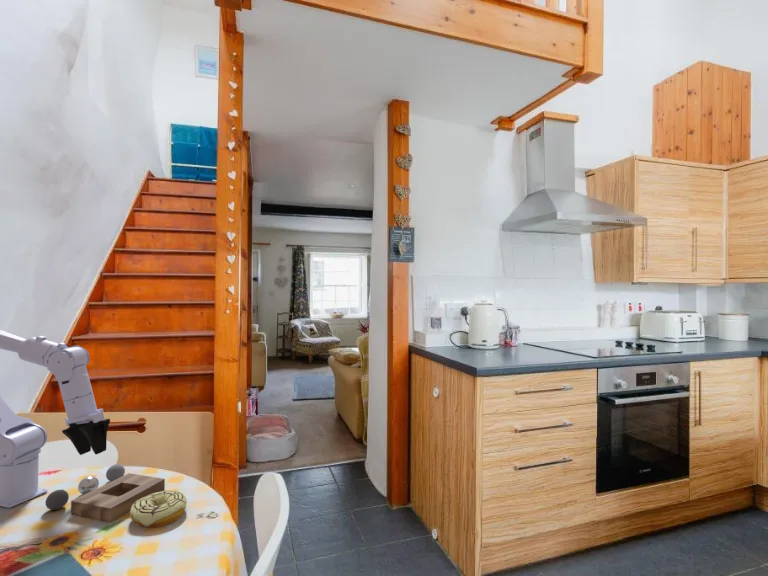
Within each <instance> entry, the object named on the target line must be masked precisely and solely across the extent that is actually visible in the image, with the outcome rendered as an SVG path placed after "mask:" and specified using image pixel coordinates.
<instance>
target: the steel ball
mask: <svg viewBox="0 0 768 576" xmlns="http://www.w3.org/2000/svg"><path fill="white" fill-rule="evenodd" d="M99 485H100V481H99V479H98V478H97V477H96V476H93V475H90V476H85V477H84V478H82V479H81V480H80V482H79V483H78V484H77V490H78V492H79V494H81V495H85V494H87V493H89V492H91V491H93V490H95V489H97V488H99Z"/></svg>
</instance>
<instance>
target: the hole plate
mask: <svg viewBox="0 0 768 576" xmlns="http://www.w3.org/2000/svg"><path fill="white" fill-rule="evenodd" d="M165 480H166V478H163V477H162V478H161V477H155V476H149V475H142V474H138V473H130V472H128V473H126V474H124V476H122V477H120V478H118V479H116V480H114V481H109V482H108V483H106V484H103V485H101V486H100V487H99V486H98V488H97V489H95V490H93V491H91V492H89V493H87V494H85V495H83V494H81V496H77V498H74V499H72V500H70V516H73V517H79V518H84V519H89V520H93V521H99V522H104V523H109V524H111V523H113V522H114V521H117V520H119V519H120V518H122V517H123V516H125V515H127V514H129V513H130V511H131V507H132V505H133V504H134V503H135V502H136V501H137V500H139V499H141V498H143V497H145V496H148V495H150V494H152V493H156V492H160V491H166V489H165V488H166V487H165V483H166V481H165Z"/></svg>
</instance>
